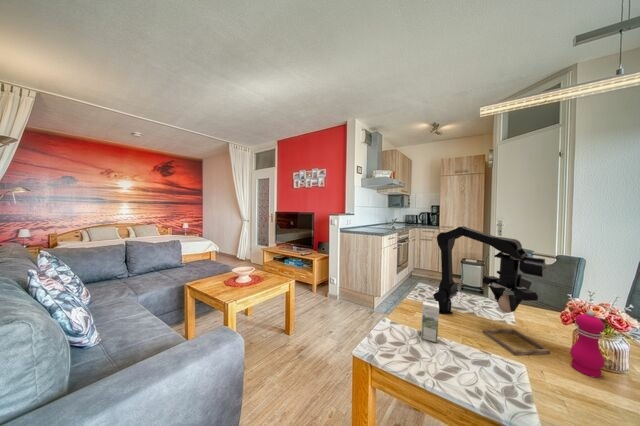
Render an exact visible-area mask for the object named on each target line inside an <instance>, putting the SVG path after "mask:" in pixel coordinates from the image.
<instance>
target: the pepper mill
mask: <svg viewBox="0 0 640 426" xmlns="http://www.w3.org/2000/svg"><path fill="white" fill-rule="evenodd" d="M595 315H596V313H595V312H594V311H593V310H586V313H581V314H577V316H575V323H576V325H577V326H576V328H577V329H576V331H577V333H578V337H577V340H576V341H575V343H573V345H572V346H571V348H570V352H569V354H570V356H571V358H572V359H571V363H570V364H571V367H572V368H573V369H575V370H576V371H577V372H579V373H580V374H583V375H586V376H588V377H591V376H592V377H593V378H600V377H601V376H602V370H601V369H602V368H604V367H605V357H604V356H603V353H602V352H601V350H600V346H599V340H600V339H602V332H604V331H605V328H606V327H605V324H604V322H603V320H601V318H599V317H596V316H595Z"/></svg>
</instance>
